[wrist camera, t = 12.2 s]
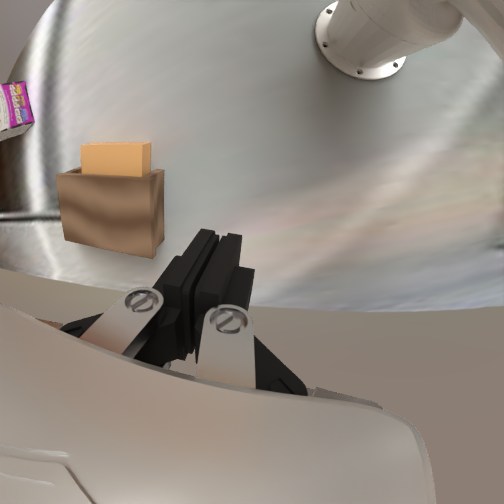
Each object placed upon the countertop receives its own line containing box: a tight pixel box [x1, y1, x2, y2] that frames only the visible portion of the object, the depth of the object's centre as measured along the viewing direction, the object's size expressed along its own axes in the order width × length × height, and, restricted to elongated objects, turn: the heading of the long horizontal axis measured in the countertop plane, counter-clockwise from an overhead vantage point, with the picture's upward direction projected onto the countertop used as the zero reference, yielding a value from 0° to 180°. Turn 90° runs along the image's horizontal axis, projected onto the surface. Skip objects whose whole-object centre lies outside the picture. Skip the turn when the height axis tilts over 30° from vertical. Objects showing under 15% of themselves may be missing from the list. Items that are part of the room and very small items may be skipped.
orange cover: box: [81, 142, 151, 177], centre depth 38 cm, size 14×12×3 cm
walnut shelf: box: [56, 167, 164, 259], centre depth 38 cm, size 12×18×6 cm, turn 83°
